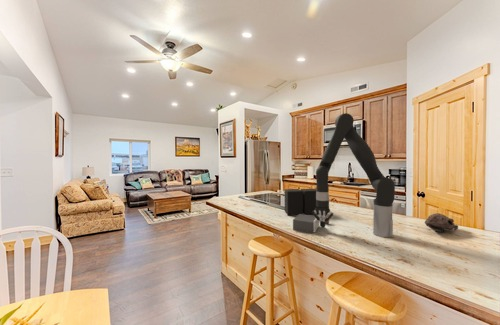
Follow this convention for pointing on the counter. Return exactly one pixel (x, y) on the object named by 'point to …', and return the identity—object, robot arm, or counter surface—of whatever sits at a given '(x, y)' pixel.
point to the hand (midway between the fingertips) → (322, 227)
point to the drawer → (315, 224)
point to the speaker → (300, 201)
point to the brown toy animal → (440, 222)
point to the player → (303, 223)
